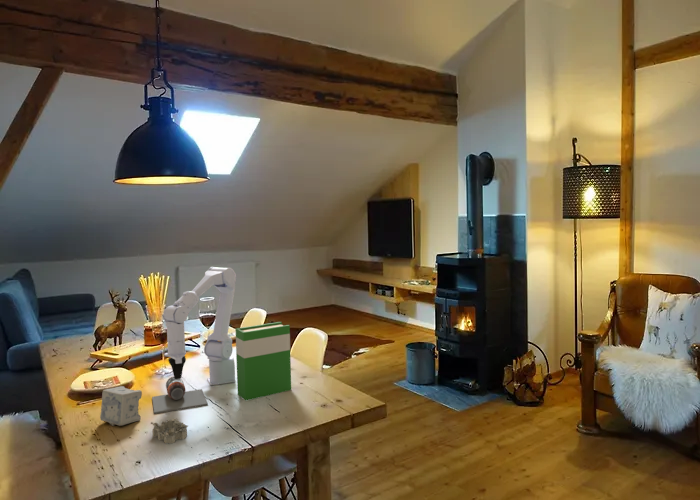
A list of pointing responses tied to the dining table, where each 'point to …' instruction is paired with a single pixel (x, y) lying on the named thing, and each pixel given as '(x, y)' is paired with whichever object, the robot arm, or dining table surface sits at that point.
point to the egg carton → (170, 430)
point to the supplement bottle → (175, 388)
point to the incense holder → (120, 405)
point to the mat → (179, 402)
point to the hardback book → (263, 360)
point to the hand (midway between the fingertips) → (177, 378)
